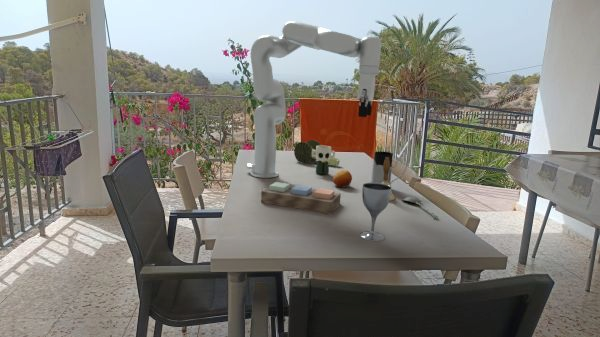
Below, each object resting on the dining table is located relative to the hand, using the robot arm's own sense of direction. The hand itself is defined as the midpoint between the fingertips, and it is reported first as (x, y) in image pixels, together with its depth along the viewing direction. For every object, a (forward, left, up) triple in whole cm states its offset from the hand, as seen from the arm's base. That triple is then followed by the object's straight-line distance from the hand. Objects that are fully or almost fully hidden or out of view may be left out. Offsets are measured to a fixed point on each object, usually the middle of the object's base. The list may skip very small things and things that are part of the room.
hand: (364, 115), depth 157 cm
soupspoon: (+26, -13, -31) cm, 42 cm away
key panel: (-15, -28, -30) cm, 44 cm away
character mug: (-22, +20, -31) cm, 42 cm away
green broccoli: (-31, +42, -31) cm, 60 cm away
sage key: (-23, -28, -28) cm, 46 cm away
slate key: (-15, -28, -28) cm, 42 cm away
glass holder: (+10, +9, -31) cm, 33 cm away
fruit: (-8, +3, -31) cm, 32 cm away
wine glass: (+14, -47, -31) cm, 58 cm away
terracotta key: (-6, -28, -28) cm, 40 cm away
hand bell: (+11, -5, -31) cm, 33 cm away
